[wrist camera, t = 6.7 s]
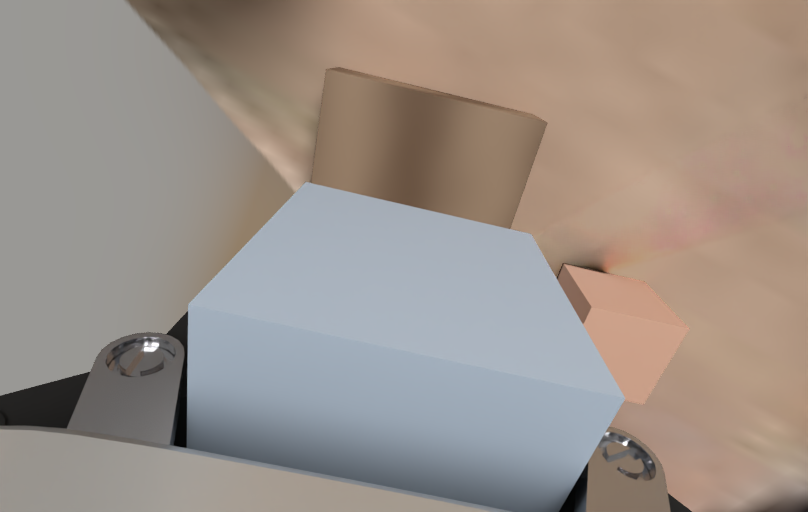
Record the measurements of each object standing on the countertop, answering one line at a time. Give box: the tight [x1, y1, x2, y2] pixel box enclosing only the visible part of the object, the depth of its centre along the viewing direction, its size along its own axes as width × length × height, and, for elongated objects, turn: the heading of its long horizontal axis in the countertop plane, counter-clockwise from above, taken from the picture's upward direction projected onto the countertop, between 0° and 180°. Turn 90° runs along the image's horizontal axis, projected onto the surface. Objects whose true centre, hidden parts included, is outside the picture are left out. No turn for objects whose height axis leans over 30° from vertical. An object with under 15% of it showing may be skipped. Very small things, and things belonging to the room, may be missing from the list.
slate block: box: [187, 182, 625, 512], centre depth 10 cm, size 6×6×6 cm
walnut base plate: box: [311, 67, 547, 229], centre depth 22 cm, size 10×10×3 cm
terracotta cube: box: [556, 263, 689, 405], centre depth 24 cm, size 5×5×5 cm
